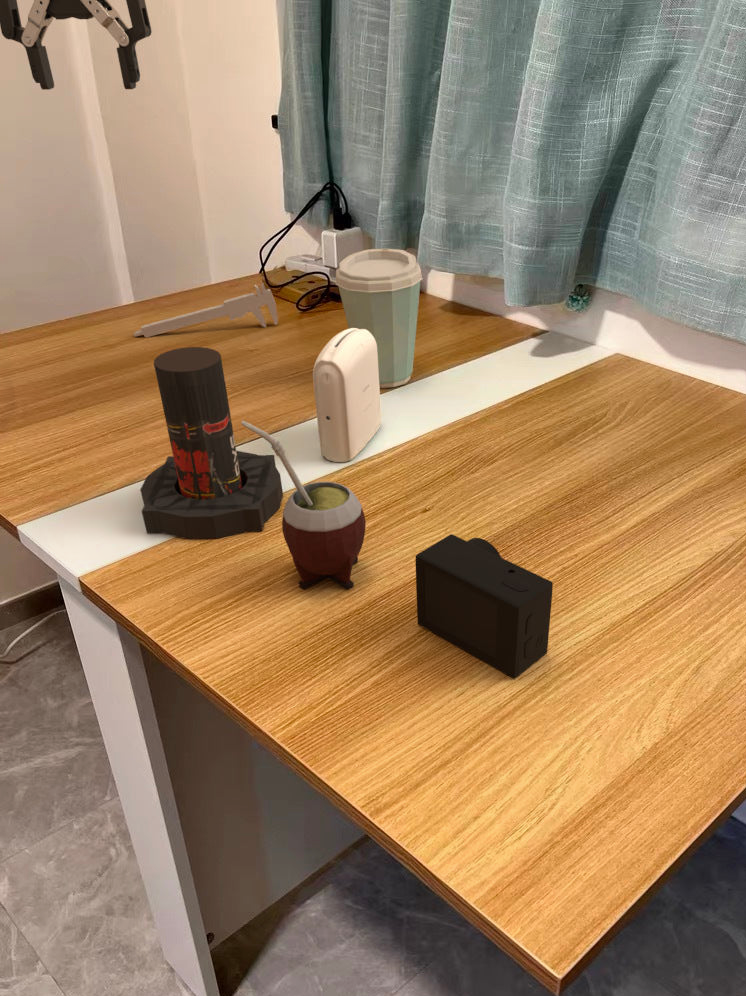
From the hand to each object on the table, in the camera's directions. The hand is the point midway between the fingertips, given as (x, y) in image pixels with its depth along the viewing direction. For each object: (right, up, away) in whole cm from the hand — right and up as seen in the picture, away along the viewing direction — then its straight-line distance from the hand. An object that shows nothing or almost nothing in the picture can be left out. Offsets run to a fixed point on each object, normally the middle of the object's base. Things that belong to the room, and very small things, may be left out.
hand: (89, 88), depth 92 cm
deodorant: (+14, -44, -3) cm, 46 cm away
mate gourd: (+26, -51, -13) cm, 59 cm away
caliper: (+2, -14, +36) cm, 39 cm away
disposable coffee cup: (+29, -25, +22) cm, 44 cm away
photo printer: (+27, -36, +8) cm, 45 cm away
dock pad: (+14, -44, -3) cm, 46 cm away
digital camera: (+41, -56, -20) cm, 72 cm away
